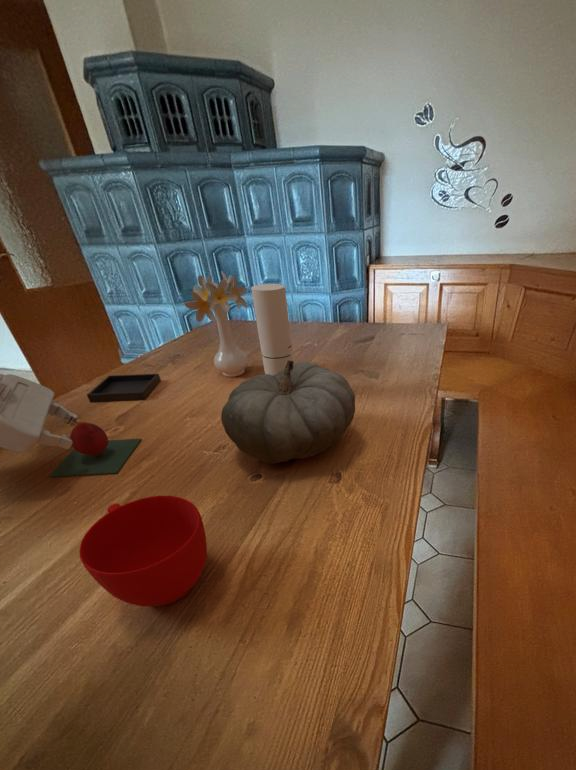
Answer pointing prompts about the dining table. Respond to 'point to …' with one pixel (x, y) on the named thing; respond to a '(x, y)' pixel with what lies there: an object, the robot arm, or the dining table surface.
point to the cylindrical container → (272, 326)
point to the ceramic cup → (147, 550)
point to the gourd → (289, 412)
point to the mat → (97, 460)
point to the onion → (89, 439)
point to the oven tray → (124, 388)
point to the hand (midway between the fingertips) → (74, 432)
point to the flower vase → (221, 319)
